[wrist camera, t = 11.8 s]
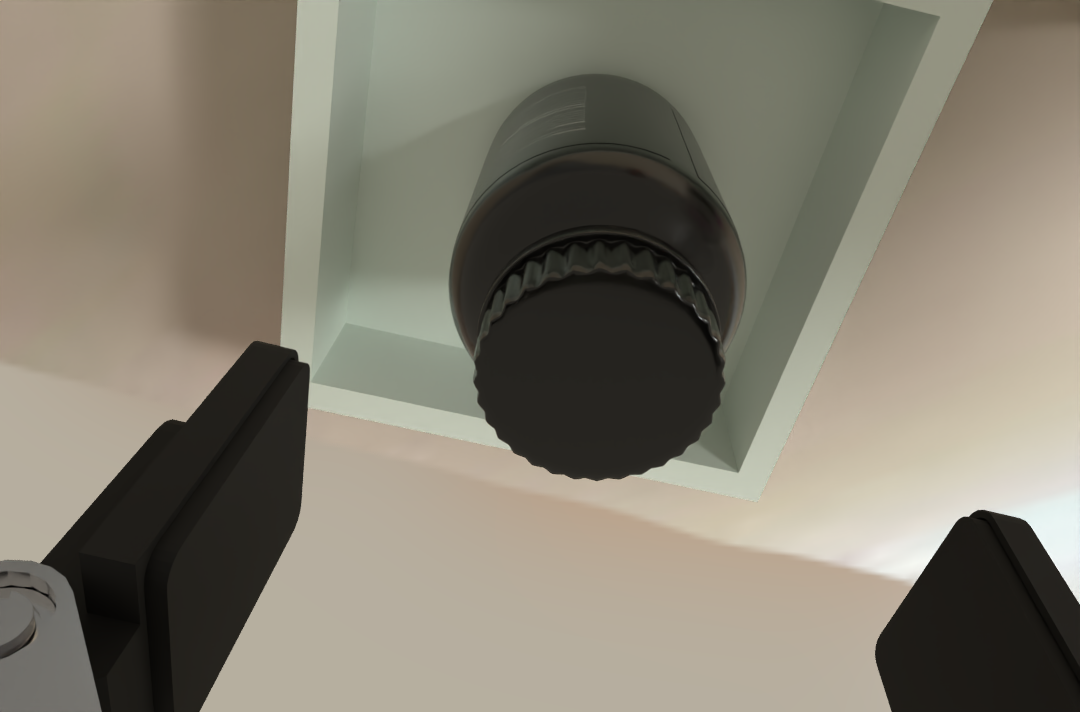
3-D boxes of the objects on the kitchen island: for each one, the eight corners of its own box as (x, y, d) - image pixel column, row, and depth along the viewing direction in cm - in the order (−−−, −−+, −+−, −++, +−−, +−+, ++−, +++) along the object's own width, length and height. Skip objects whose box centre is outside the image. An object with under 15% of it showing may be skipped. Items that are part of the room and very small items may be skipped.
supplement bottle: (488, 274, 27) (419, 510, 16) (486, 65, 23) (396, 196, 13) (690, 284, 26) (749, 531, 16) (718, 73, 23) (816, 215, 13)
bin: (923, -35, 22) (1002, -20, 18) (734, 416, 30) (757, 502, 26) (366, -176, 21) (307, -195, 17) (324, 327, 29) (277, 401, 25)
